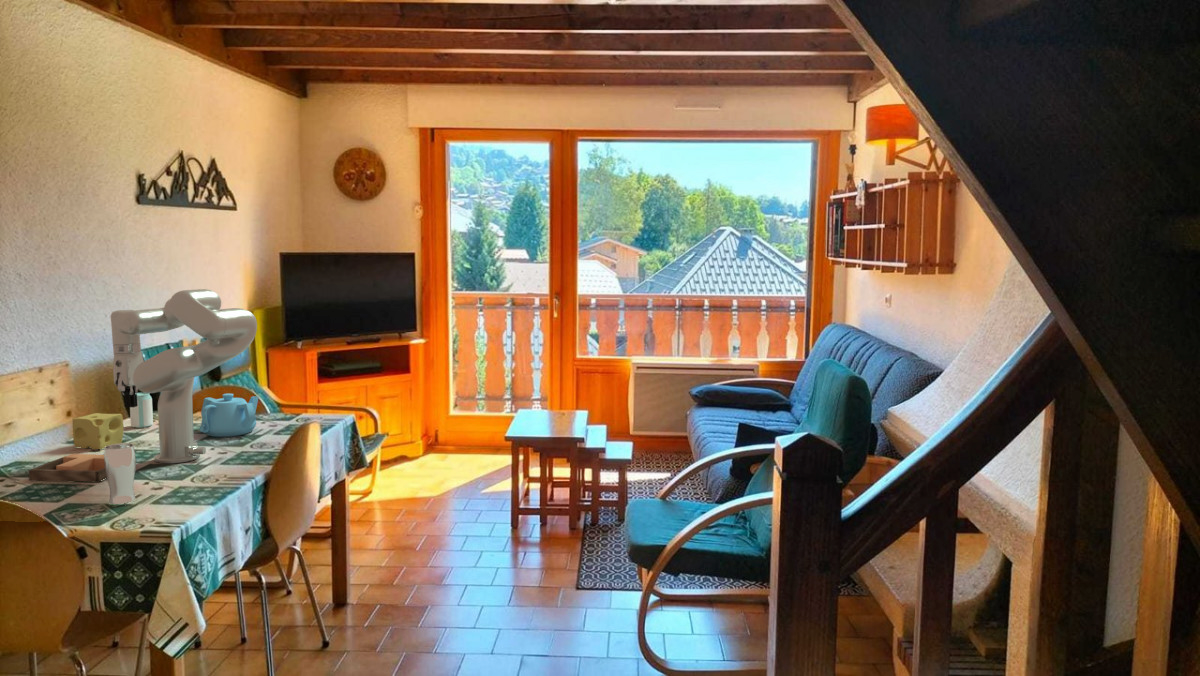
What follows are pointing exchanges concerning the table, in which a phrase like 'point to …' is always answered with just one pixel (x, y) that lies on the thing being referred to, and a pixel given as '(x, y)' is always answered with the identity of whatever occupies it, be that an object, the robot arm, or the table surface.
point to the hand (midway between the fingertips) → (131, 406)
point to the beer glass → (120, 472)
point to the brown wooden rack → (64, 473)
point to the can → (142, 411)
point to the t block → (82, 462)
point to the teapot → (228, 416)
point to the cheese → (97, 430)
